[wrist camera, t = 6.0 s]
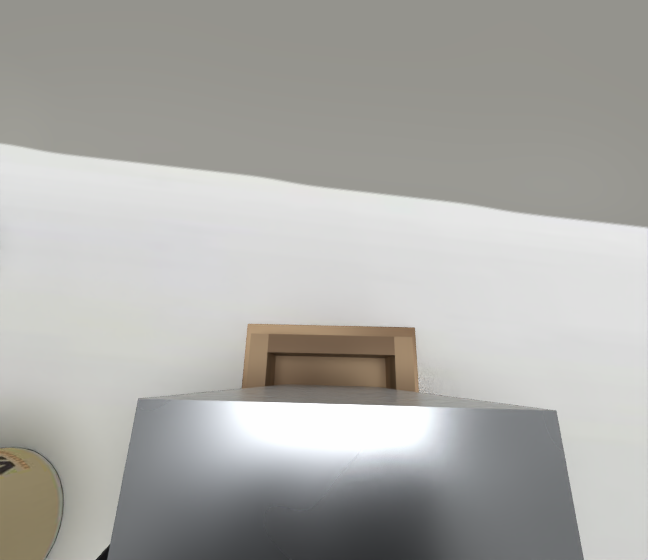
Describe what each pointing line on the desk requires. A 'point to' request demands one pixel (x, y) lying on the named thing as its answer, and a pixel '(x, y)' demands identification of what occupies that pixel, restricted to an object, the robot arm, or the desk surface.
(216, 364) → the desk surface
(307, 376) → the well
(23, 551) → the coffee cup
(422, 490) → the silver block
